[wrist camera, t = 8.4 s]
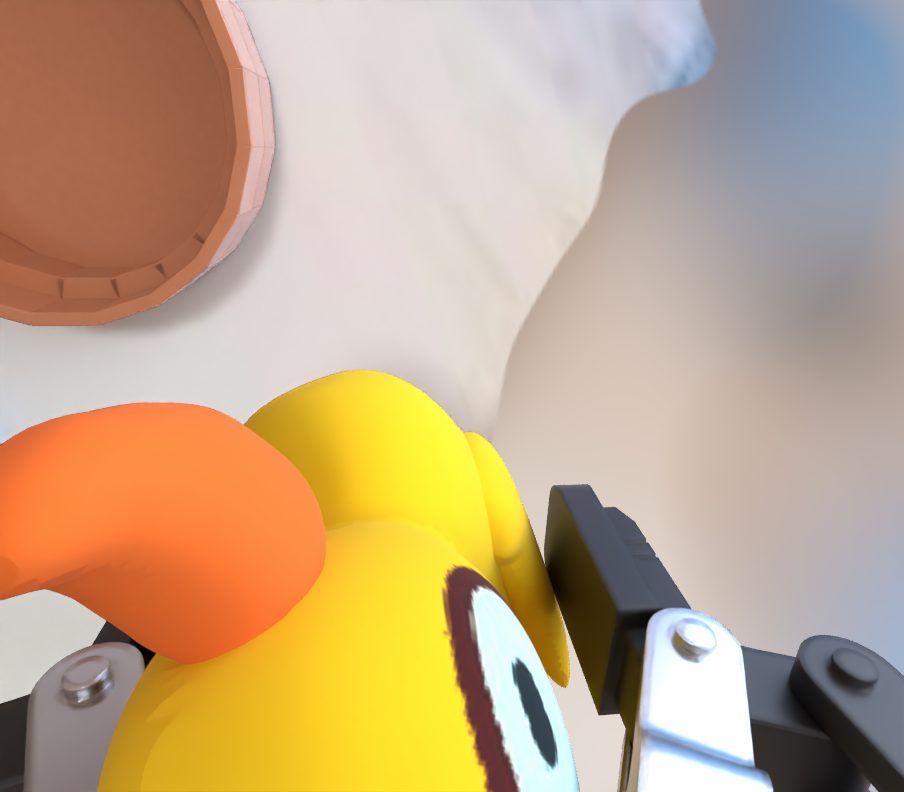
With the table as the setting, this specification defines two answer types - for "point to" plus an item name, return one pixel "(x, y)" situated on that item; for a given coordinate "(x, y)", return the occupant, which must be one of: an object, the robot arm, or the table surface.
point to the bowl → (124, 152)
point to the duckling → (301, 591)
